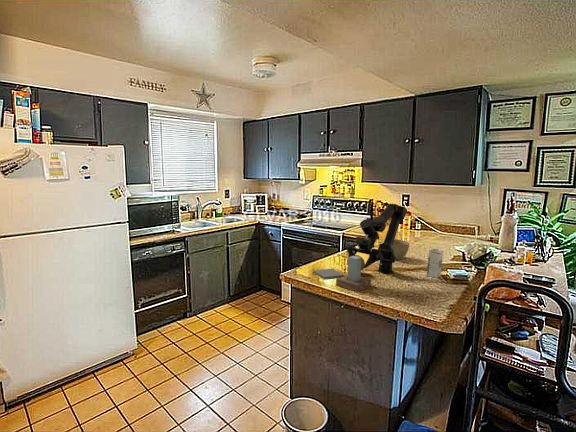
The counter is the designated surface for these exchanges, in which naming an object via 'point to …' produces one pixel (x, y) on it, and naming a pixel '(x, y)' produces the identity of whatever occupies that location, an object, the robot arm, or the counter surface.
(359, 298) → the counter surface
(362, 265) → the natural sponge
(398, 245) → the planter bowl
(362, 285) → the walnut pocket block
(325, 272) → the charcoal mat
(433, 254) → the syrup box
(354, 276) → the slate peg
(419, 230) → the counter surface
